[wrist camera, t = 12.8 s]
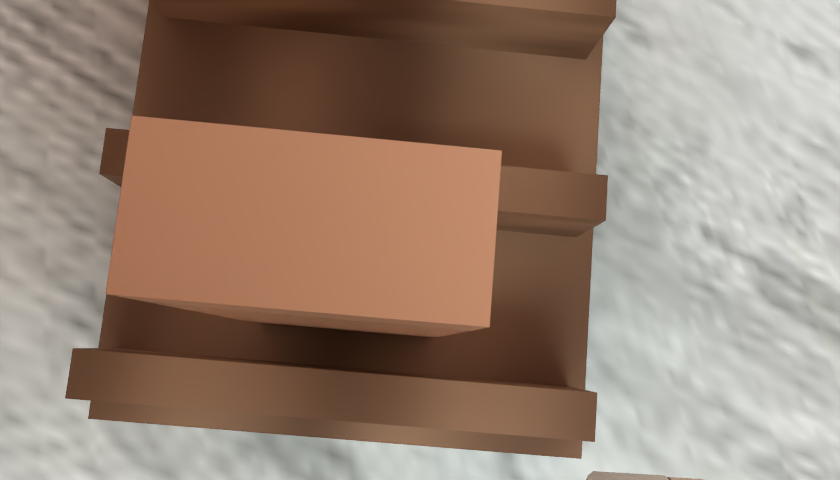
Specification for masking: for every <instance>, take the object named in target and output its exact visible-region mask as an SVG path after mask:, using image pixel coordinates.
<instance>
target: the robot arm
mask: <svg viewBox="0 0 840 480" xmlns="http://www.w3.org/2000/svg"><path fill="white" fill-rule="evenodd" d="M586 480H703V479H692V478H674V477H666V476H663V475H647V474H630V473H614V472H597V471H593V472H592V473H590V474H589V475H588V477H587V479H586Z"/></svg>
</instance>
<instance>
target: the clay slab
mask: <svg viewBox="0 0 840 480" xmlns="http://www.w3.org/2000/svg"><path fill="white" fill-rule="evenodd" d="M501 157H502V151H501V150H490V149H480V148H469V147H459V146H448V145H438V144H427V143H416V142H406V141H395V140H385V139H374V138H364V137H353V136H343V135H332V134H321V133H311V132H300V131H290V130H279V129H269V128H258V127H247V126H237V125H226V124H216V123H205V122H195V121H184V120H174V119H163V118H152V117H142V116H132V117H131V124H130V131H129V138H128V144H127V151H126V158H125V165H124V172H123V179H122V186H121V192H120V199H119V206H118V213H117V220H116V227H115V234H114V240H113V247H112V254H111V261H110V268H109V275H108V281H107V288H106V294H108V295H113V296H118V297H123V298H129V299H134V300H139V301H144V302H150V303H155V304H160V305H165V306H170V307H176V308H181V309H186V310H191V311H197V312H202V313H207V314H212V315H217V316H223V317H228V318H233V319H238V320H243V321H249V322H254V323H259V324H270V325H282V326H294V327H305V328H317V329H329V330H340V331H352V332H364V333H376V334H387V335H399V336H411V337H422V338H436V337H441V336H447V335H452V334H457V333H462V332H467V331H473V330H478V329H483V328H488V327H490V314H491V300H492V286H493V271H494V257H495V243H496V228H497V214H498V200H499V185H500V171H501Z"/></svg>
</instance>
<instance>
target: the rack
mask: <svg viewBox="0 0 840 480" xmlns="http://www.w3.org/2000/svg"><path fill="white" fill-rule="evenodd" d="M615 17H616V0H149V7H148V14H147V21H146V28H145V34H144V41H143V48H142V55H141V62H140V69H139V75H138V82H137V89H136V96H135V103H134V110H133V116H142V117H152V118H163V119H174V120H184V121H195V122H205V123H216V124H226V125H237V126H247V127H258V128H269V129H279V130H290V131H300V132H311V133H321V134H332V135H343V136H353V137H364V138H374V139H385V140H395V141H406V142H416V143H427V144H438V145H448V146H459V147H469V148H480V149H490V150H501V151H502V157H501V171H500V185H499V200H498V214H497V228H496V243H495V257H494V271H493V286H492V300H491V314H490V327H488V328H483V329H478V330H473V331H467V332H462V333H457V334H452V335H447V336H441V337H436V338H422V337H411V336H399V335H387V334H376V333H364V332H352V331H340V330H329V329H317V328H305V327H294V326H282V325H270V324H259V323H254V322H249V321H243V320H238V319H233V318H228V317H223V316H217V315H212V314H207V313H202V312H197V311H191V310H186V309H181V308H176V307H170V306H165V305H160V304H155V303H150V302H144V301H139V300H134V299H129V298H123V297H118V296H113V295H108V294H106V300H105V307H104V314H103V321H102V328H101V335H100V341H99V348H73V351H72V358H71V364H70V371H69V377H68V384H67V391H66V397H65V398H68V399H80V400H91V403H90V410H89V416H88V419H99V420H111V421H124V422H136V423H148V424H161V425H173V426H185V427H197V428H210V429H222V430H234V431H247V432H259V433H271V434H284V435H296V436H308V437H320V438H333V439H345V440H357V441H370V442H382V443H394V444H407V445H419V446H431V447H443V448H456V449H468V450H480V451H493V452H505V453H517V454H530V455H542V456H554V457H567V458H579V459H581V455H582V441H591V442H595V426H596V406H597V393H596V392H591V391H587V390H585V378H586V358H587V339H588V319H589V300H590V280H591V261H592V241H593V227H595V226H597V225H599V224H600V223H602V222H604V221H606V201H607V181H608V175H597V174H596V163H597V144H598V124H599V105H600V85H601V66H602V46H603V34H604V33H605V31H606V30H607V29H608V27H609V26H610V24H611V23H612V21H613V20H614V19H615ZM129 131H130V130H122V129H112V128H106V133H105V140H104V146H103V153H102V160H101V166H100V173H99V174H101V175H102V176H104V177H106V178H107V179H109V180H111V181H112V182H114V183H116V184H117V185H119V186H120V187H121V186H122V179H123V172H124V165H125V158H126V151H127V144H128V138H129Z"/></svg>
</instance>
